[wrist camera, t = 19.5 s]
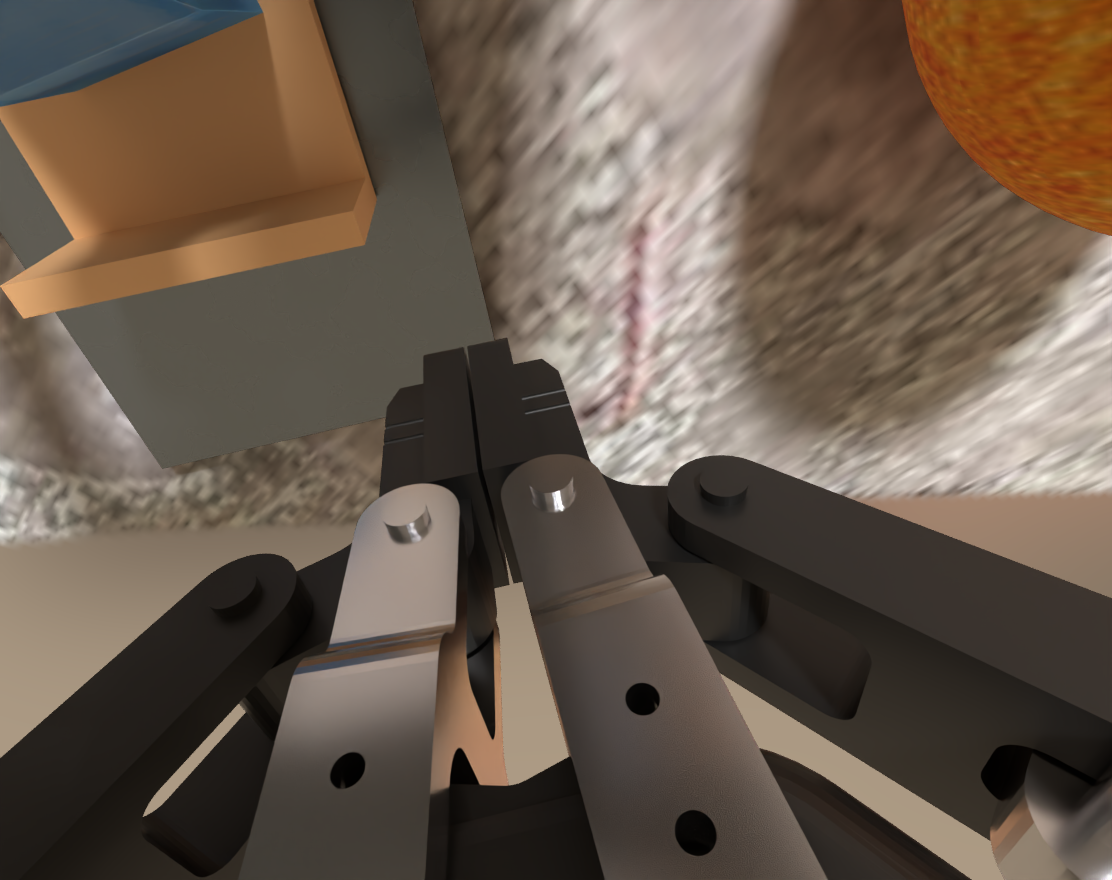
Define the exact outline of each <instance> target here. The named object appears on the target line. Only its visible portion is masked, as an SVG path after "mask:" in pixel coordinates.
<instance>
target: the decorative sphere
mask: <svg viewBox="0 0 1112 880" xmlns="http://www.w3.org/2000/svg"><path fill="white" fill-rule="evenodd" d="M902 5H903V11H904V17H905V22H906V28H907V33H908V38H909V43H910V48H911V51H912V54H913V58H914V61H915V64H916V68H917V71H918V74H919V76H920V78H921V80H922V83H923V85H924V87H925V90H926V92H927V94H928V96H929V98H930V100H931V102H932V104H933V106H934V108H935V110H936V111H937V113H938V115H939V116H940V118H941V120H942V121H943V123H944V125H945V126H946V128H947V129H948V130H949V132H950V133H951V134H952V135H953V137H954V138H955V139H956V140H957V142H958V143H959V144H960V145H961V146H962V148H963V149H964V150H965V151H966V152H967V154H968V155H969V156H970V157H971V158H972V159H973V160H974V161H975V162H976V163H977V164H978V165H979V166H980V167H981V168H982V169H984V170H985V171H986V172H987V173H988V174H989V175H990V176H992V177H993V178H994V179H995V180H997V181H998V182H999V183H1000V184H1002V185H1003V186H1004V187H1005V188H1007V189H1008V190H1010V191H1011V192H1013V193H1015V194H1016V195H1018V196H1019V197H1021V198H1022V199H1024V200H1026V201H1027V202H1029V203H1031V204H1033V205H1034V206H1036V207H1038V208H1040V209H1042V210H1043V211H1045V212H1048V213H1050V214H1052V215H1054V216H1057V217H1059V218H1061V219H1063V220H1066V221H1068V222H1071V223H1073V224H1076V225H1079V226H1081V227H1084V228H1086V229H1089V230H1092V231H1095V232H1099V233H1103V234H1107V235H1111V236H1112V0H902Z"/></svg>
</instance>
